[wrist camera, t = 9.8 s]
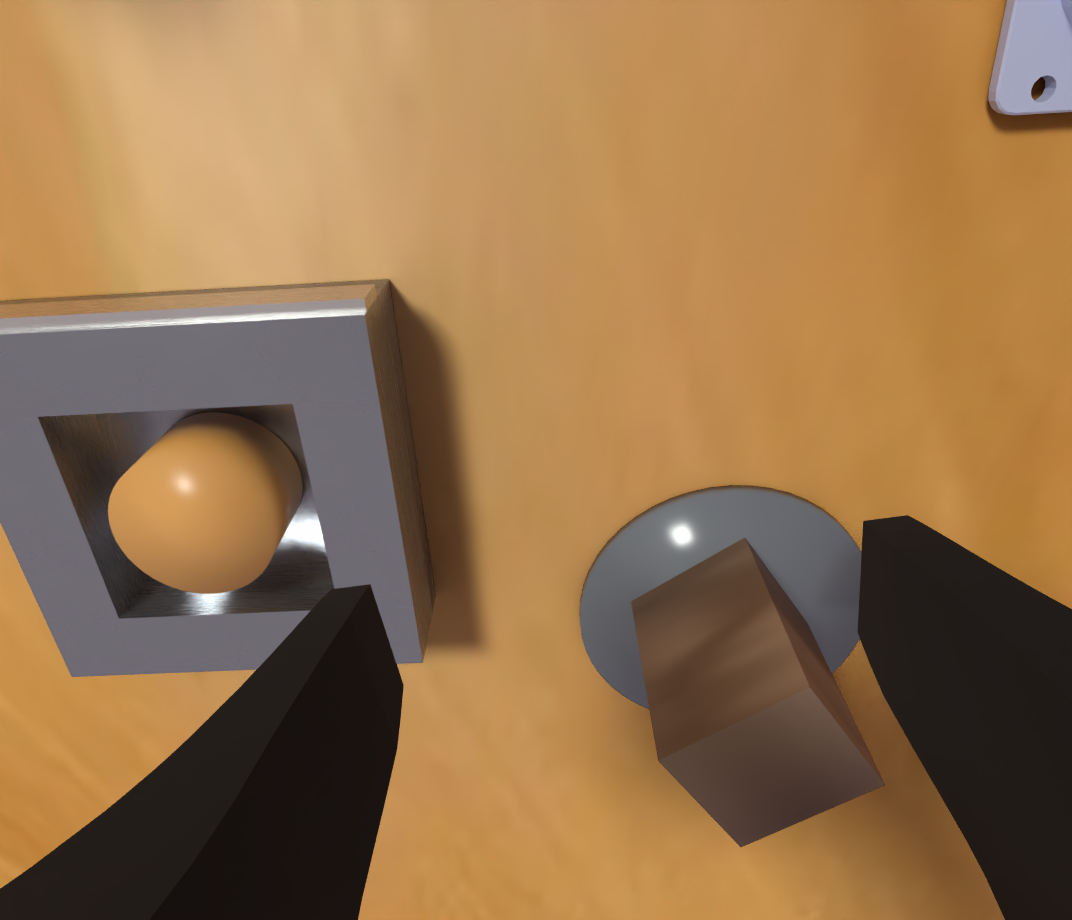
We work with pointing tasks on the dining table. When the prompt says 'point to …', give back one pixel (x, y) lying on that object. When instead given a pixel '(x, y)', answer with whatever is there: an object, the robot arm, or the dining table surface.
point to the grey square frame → (189, 389)
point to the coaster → (700, 532)
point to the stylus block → (746, 699)
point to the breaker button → (207, 503)
